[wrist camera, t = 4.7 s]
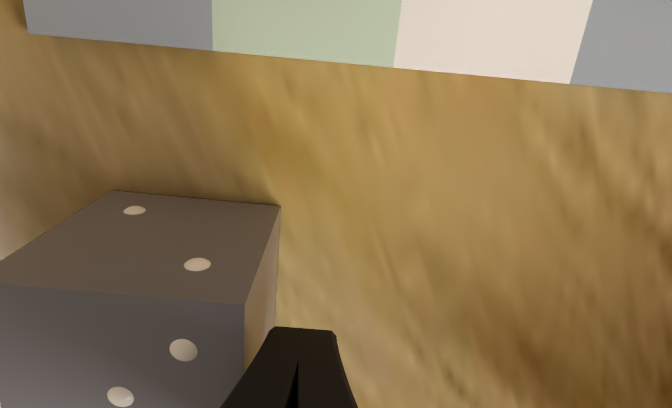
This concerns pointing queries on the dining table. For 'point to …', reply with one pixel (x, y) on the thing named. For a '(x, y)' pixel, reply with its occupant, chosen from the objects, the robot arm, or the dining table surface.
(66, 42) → the dining table surface
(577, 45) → the board
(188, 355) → the die
